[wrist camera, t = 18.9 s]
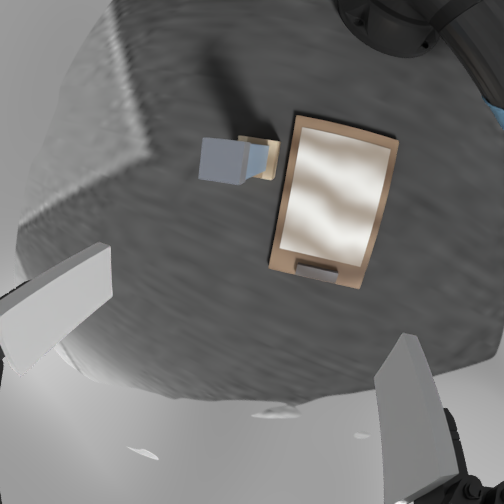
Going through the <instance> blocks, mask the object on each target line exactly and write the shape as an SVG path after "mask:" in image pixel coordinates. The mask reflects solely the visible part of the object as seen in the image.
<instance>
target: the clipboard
mask: <svg viewBox="0 0 504 504" xmlns="http://www.w3.org/2000/svg"><path fill="white" fill-rule="evenodd" d="M398 144H399V141H398V140H395V139H392V138H388V137H385V136H382V135H379V134H375V133H372V132H368V131H365V130H361V129H357V128H354V127H350V126H346V125H342V124H337V123H333V122H329V121H324V120H319V119H314V118H309V117H304V116H299V115H296V121H295V127H294V132H293V138H292V144H291V150H290V156H289V161H288V167H287V173H286V178H285V184H284V189H283V195H282V200H281V205H280V211H279V216H278V221H277V227H276V232H275V237H274V242H273V248H272V253H271V258H270V263H269V269H273V270H278V271H282V272H286V273H291V274H295V275H299V276H304V277H308V278H312V279H317V280H321V281H326V282H330V283H335V284H339V285H343V286H348V287H352V288H357V289H359V288H360V286H361V283H362V280H363V277H364V274H365V271H366V268H367V265H368V262H369V259H370V256H371V253H372V250H373V247H374V243H375V240H376V237H377V233H378V230H379V226H380V223H381V219H382V216H383V212H384V208H385V204H386V200H387V196H388V192H389V188H390V183H391V179H392V174H393V170H394V165H395V160H396V155H397V150H398Z"/></svg>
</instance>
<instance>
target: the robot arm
mask: <svg viewBox="0 0 504 504" xmlns="http://www.w3.org/2000/svg"><path fill="white" fill-rule="evenodd" d="M338 8H339V12H340V15H341V18H342V20H343V21H344V23H345V25H346V26H347V27H348V29H349V30H350V31H351V32H352V33H353V34H354V35H355V36H356V37H357V38H358V39H360V40H361V41H362V42H364V43H365V44H366V45H368V46H370V47H371V48H373V49H375V50H377V51H379V52H382V53H384V54H387V55H391V56H395V57H401V58H413V57H418V56H421V55H423V54H425V53H426V52H428V51H429V50H430V49H431V48H433V47H434V46H435V44H436V43H437V41H438V39H439V37H440V36H441V37H442V38H443V40H444V41H445V42H446V43H447V45H448V46H449V47H450V49H451V50H452V51H453V52H454V54H455V55H456V56H457V58H458V59H459V61H460V62H461V63H462V65H463V66H464V68H465V69H466V71H467V72H468V74H469V75H470V77H471V78H472V80H473V81H474V83H475V84H476V86H477V88H478V89H479V91H480V93H481V94H482V98H483V100H484V102H485V103H486V104H487V105H488V106H489V107H490V109H491V110H492V112H493V114H494V115H495V117H496V119H497V121H498V123H499V124H500V126H501V127H502V129H503V130H504V0H339V1H338ZM112 296H113V293H112V277H111V246H109V245H106V244H103V243H101V242H98V243H96V244H94V245H92V246H90V247H88V248H86V249H84V250H83V251H81V252H79V253H77V254H75V255H73V256H72V257H70V258H68V259H66V260H65V261H63V262H61V263H59V264H58V265H56V266H54V267H52V268H51V269H49V270H47V271H46V272H44V273H42V274H41V275H39V276H37V277H36V278H34V279H32V280H29V281H26V282H24V283H22V284H21V285H19V286H17V287H16V289H13V290H11V291H10V292H9V293H7V294H5V295H3V296H2V297H0V386H1V379H2V373H3V361H2V359H3V358H4V357H6V359H7V361H8V363H9V365H10V367H11V368H12V369H13V370H14V371H15V372H16V373H17V374H18V375H19V376H20V377H22V376H23V375H24V374H25V373H26V372H27V371H28V370H29V369H30V368H31V367H32V366H33V365H34V364H36V363H37V362H38V361H39V360H40V359H41V358H42V357H43V356H44V355H45V354H46V353H47V352H49V351H50V350H51V349H52V348H53V347H54V346H55V345H56V344H57V343H59V342H60V341H61V340H62V339H63V338H64V337H65V336H66V335H68V334H69V333H70V332H71V331H72V330H73V329H74V328H76V327H77V326H78V325H79V324H80V323H81V322H83V321H84V320H85V319H86V318H87V317H88V316H90V315H91V314H92V313H93V312H94V311H96V310H97V309H98V308H99V307H100V306H102V305H103V304H104V303H105V302H106V301H108V300H109V299H110V298H111V297H112ZM374 382H375V389H376V396H377V404H378V412H379V420H380V430H381V440H382V441H381V442H382V455H383V473H384V504H409V503H411V502H413V501H414V504H504V481H503V482H501V483H500V484H498V485H497V486H495V487H494V488H491V487H484V486H482V484H481V481H480V480H479V479H478V478H477V477H476V476H473V475H468V472H467V467H466V462H465V458H464V454H463V449H462V445H461V442H460V441H459V439H460V438H459V434H458V432H457V427H456V423H455V420H454V418H453V416H452V415H451V413H450V412H449V410H448V409H447V408H443V407H442V403H441V400H440V397H439V394H438V391H437V388H436V385H435V382H434V379H433V376H432V374H431V371H430V368H429V365H428V363H427V360H426V358H425V355H424V352H423V350H422V347H421V345H420V343H419V340H418V338H417V336H415V335H411V334H406V333H402V334H401V336H400V338H399V340H398V341H397V343H396V344H395V346H394V348H393V349H392V351H391V353H390V354H389V356H388V357H387V359H386V360H385V362H384V363H383V365H382V366H381V368H380V369H379V371H378V372H377V374H376V375H375V377H374ZM0 504H2V501H1V495H0Z"/></svg>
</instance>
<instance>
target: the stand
mask: <svg viewBox="0 0 504 504" xmlns="http://www.w3.org/2000/svg"><path fill="white" fill-rule="evenodd" d="M238 141H243V142H251V143H252V144H259V145H266V146H269V151H268V158H267V164H266V171H264V172H262V173H259V174H257V175H255V176H252V177H257V178H262V179H268V180H272V179H274V178H275V173H276V167H277V161H278V155H279V149H280V143H281V142H279V141H273V140H267V139H261V138H254V137H247V136H238Z"/></svg>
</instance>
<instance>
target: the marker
mask: <svg viewBox="0 0 504 504" xmlns="http://www.w3.org/2000/svg"><path fill="white" fill-rule="evenodd" d="M268 151H269V146H266V145H259V144H252V143H251V142H243V141H235V140H226V139H217V138H205V137H203V143H202V151H201V160H200V169H199V178H198V179H203V180H210V181H217V182H223V183H229V184H236V185H240V184H242V183H244V182H245V179H248V178H250V177H252V176H255V175H257V174H259V173H262V172H264V171H266V164H267V158H268Z"/></svg>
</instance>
